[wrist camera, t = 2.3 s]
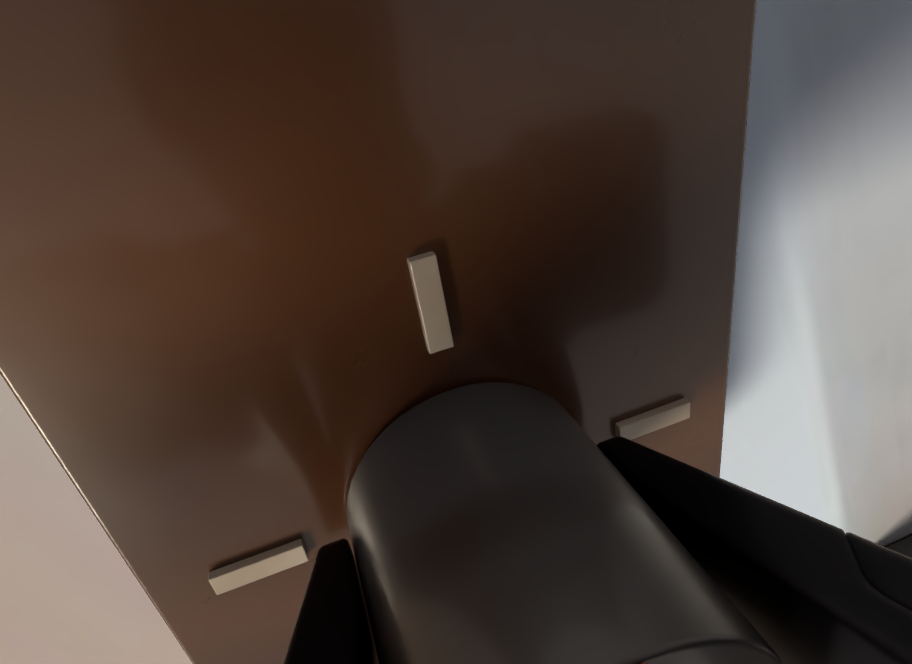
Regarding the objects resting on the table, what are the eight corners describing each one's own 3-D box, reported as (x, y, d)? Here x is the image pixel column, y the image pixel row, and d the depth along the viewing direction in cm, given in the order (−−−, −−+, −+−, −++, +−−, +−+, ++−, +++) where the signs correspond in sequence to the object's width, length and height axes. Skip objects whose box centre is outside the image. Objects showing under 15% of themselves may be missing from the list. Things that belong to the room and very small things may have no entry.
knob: (585, 527, 11) (790, 819, 7) (378, 611, 10) (472, 994, 6) (571, 347, 9) (844, 605, 5) (313, 432, 8) (387, 823, 4)
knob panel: (635, 483, 16) (718, 576, 13) (256, 632, 14) (261, 778, 11) (623, -208, 9) (794, -312, 6) (-149, -107, 7) (-398, -196, 4)
